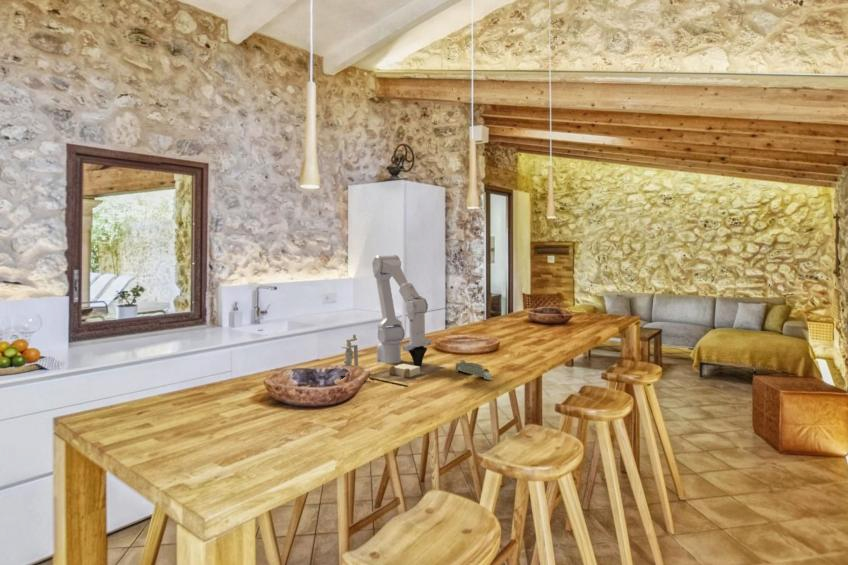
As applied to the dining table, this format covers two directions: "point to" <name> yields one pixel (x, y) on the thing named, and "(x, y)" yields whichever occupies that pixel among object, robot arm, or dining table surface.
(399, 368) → the cream rectangular block
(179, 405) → the dining table surface
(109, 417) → the dining table surface
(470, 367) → the metal bracket
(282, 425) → the dining table surface
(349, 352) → the clamp
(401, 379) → the bench board
